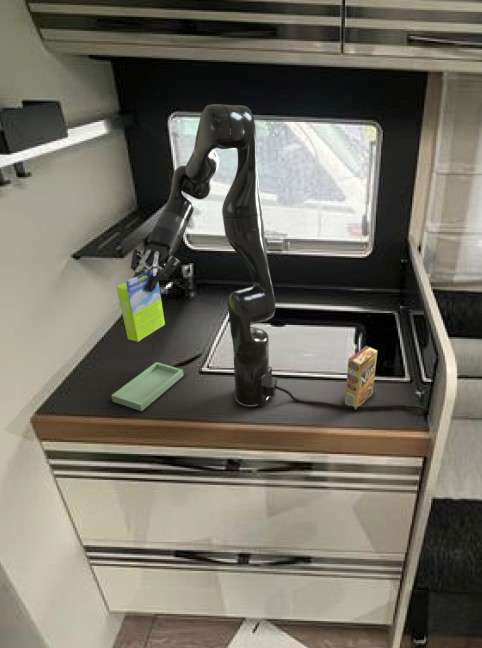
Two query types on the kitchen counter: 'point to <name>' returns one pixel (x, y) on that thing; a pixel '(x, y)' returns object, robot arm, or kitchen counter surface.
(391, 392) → the kitchen counter surface
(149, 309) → the box
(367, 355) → the candy box
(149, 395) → the green shallow tray
